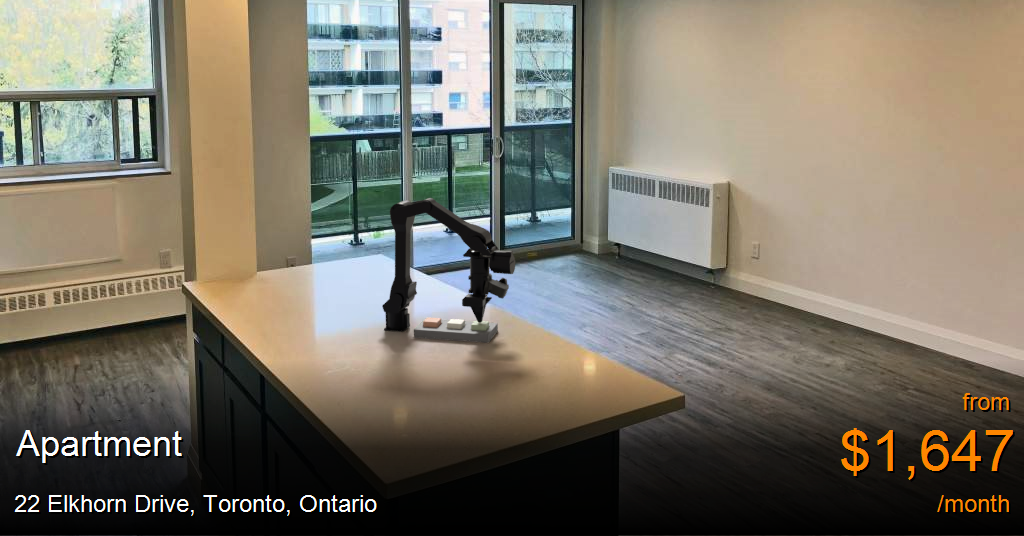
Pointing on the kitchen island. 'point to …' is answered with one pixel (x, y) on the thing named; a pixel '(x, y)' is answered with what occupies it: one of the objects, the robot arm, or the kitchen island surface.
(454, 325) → the cream button
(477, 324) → the sage button
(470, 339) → the button panel
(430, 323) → the terracotta button
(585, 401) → the kitchen island surface
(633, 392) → the kitchen island surface
